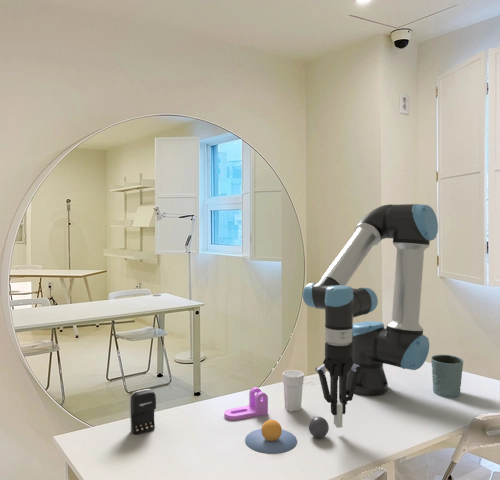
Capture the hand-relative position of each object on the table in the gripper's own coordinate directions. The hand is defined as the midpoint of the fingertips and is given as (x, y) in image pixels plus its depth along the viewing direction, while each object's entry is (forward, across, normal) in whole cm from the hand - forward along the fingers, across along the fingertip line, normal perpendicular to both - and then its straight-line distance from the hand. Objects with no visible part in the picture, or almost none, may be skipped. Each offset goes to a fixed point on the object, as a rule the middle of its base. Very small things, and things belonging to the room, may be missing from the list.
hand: (338, 425), depth 134 cm
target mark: (+2, -19, 0) cm, 19 cm away
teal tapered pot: (+3, +48, +22) cm, 53 cm away
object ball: (0, -19, 0) cm, 19 cm away
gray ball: (0, -6, -1) cm, 6 cm away
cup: (+3, -7, +20) cm, 21 cm away
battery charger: (+2, -53, +12) cm, 55 cm away
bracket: (+3, -23, +18) cm, 29 cm away
